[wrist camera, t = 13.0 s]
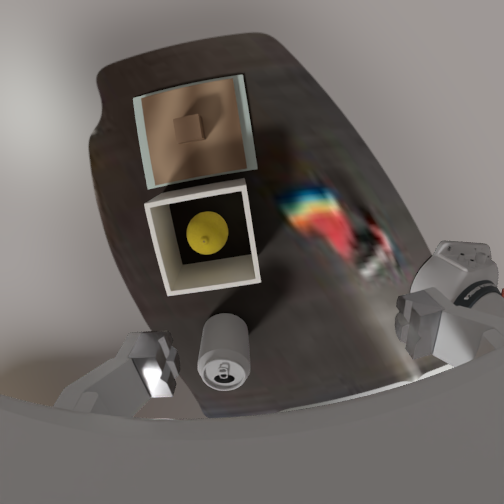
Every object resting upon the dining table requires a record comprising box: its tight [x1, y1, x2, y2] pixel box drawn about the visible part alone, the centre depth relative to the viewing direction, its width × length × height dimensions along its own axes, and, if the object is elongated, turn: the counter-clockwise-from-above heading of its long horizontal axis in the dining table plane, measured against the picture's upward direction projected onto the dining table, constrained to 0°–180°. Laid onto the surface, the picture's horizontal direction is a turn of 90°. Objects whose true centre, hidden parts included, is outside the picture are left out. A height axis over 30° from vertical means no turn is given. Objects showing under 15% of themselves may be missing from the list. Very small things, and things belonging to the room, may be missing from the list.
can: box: [198, 313, 250, 391], centre depth 43 cm, size 8×8×12 cm
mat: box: [133, 75, 258, 189], centre depth 38 cm, size 16×14×1 cm
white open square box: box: [144, 178, 261, 296], centre depth 39 cm, size 12×12×9 cm
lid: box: [141, 78, 247, 186], centre depth 36 cm, size 13×13×5 cm
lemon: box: [187, 211, 228, 255], centre depth 39 cm, size 6×6×8 cm
